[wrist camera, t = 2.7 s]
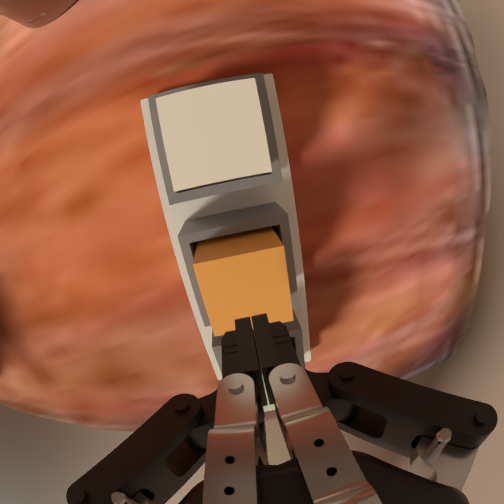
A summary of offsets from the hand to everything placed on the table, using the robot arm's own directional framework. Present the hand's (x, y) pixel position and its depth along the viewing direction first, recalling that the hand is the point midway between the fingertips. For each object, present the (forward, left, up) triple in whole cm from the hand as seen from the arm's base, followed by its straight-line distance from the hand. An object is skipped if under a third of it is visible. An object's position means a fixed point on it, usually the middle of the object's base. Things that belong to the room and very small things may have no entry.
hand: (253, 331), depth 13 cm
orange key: (0, 0, -8) cm, 8 cm away
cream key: (-9, 0, -8) cm, 12 cm away
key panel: (0, 0, -12) cm, 12 cm away
